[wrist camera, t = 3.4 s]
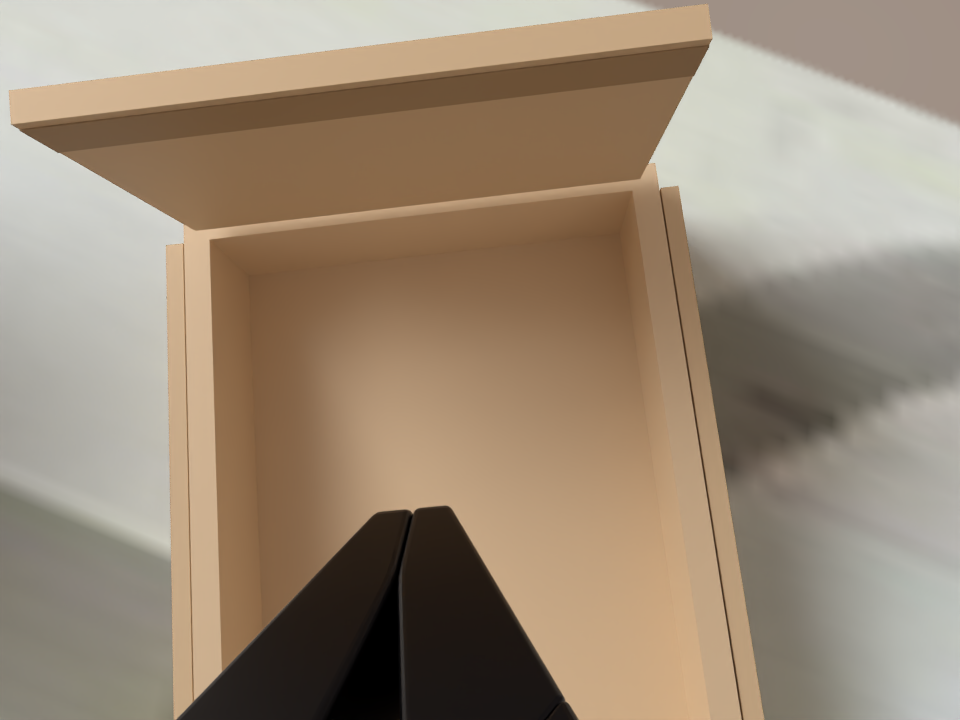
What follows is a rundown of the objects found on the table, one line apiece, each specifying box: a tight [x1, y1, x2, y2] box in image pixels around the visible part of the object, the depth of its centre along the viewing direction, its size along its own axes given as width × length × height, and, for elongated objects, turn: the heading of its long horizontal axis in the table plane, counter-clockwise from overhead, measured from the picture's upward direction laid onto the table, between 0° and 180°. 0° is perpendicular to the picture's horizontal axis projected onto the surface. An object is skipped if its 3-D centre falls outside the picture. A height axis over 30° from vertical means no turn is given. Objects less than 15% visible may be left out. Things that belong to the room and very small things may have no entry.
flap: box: [9, 4, 712, 231], centre depth 15 cm, size 1×10×7 cm, turn 96°
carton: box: [166, 163, 764, 720], centre depth 18 cm, size 18×12×3 cm, turn 5°
